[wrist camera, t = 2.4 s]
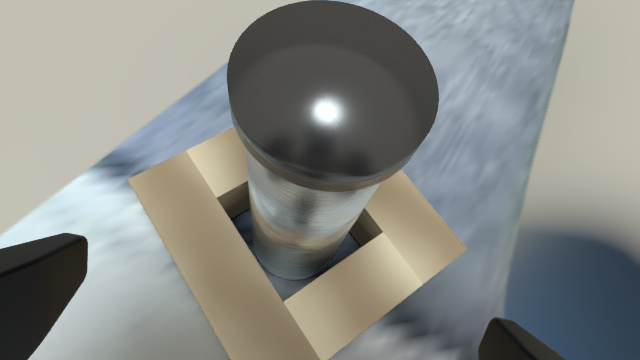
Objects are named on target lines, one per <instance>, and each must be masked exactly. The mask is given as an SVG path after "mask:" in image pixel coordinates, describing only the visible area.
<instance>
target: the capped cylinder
mask: <svg viewBox="0 0 640 360" xmlns="http://www.w3.org/2000/svg"><path fill="white" fill-rule="evenodd" d="M227 84H228V93H229V102H230V110H231V116H232V120H233V124H234V127H235V129H236V132H237V134H238V136H239V138H240V140H241V141H242V143H243V145H244V146H245V148H246V158H247V171H248V185H249V198H250V212H251V225H252V239H253V247H254V251H255V254H256V256H257V258H258V260H259V261H260V263H261V264H262V265H263V266H264V267H265V268H266V269H267V270H268V271H269V272H270V273H272V274H274V275H275V276H278V277H280V278H284V279H288V280H301V279H306V278H309V277H312V276H314V275H316V274H317V273H319V272H320V271H322V270H323V269H324V268H325V267H326V266H327V264H328V263H329V262H330V260H331V259H332V257H333V256H334V254H335V252H336V251H337V249H338V248H339V246H340V245H341V243H342V242H343V240H344V239H345V237H346V235H347V234H348V232H349V231H350V229H351V228H352V226H353V225H354V223H355V222H356V220H357V218H358V217H359V215H360V214H361V212H362V211H363V209H364V208H365V206H366V204H367V203H368V201H369V200H370V198H371V197H372V195H373V194H374V192H375V191H376V189H377V187H378V186H379V184H380V183H381V182H383V181H384V180H386V179H388V178H390V177H391V176H393V175H394V174H395V173H397V172H398V171H399V170H400V169H401V168H402V167H403V166H404V165H405V164H406V163H407V162H408V161H409V160H410V158H411V157H412V155H413V154H414V153H415V151H416V150H417V148H418V147H419V146H420V144H421V143H422V141H423V140H424V139H425V137H426V136H427V134H428V133H429V131H430V129H431V127H432V125H433V123H434V121H435V118H436V114H437V111H438V103H439V92H438V84H437V79H436V76H435V73H434V70H433V67H432V65H431V63H430V61H429V59H428V57H427V56H426V54H425V53H424V51H423V50H422V48H421V47H420V46H419V45H418V44H417V42H416V41H415V40H414V39H413V38H412V37H411V36H410V35H409V34H408V33H407V32H406V31H404V30H403V29H402V28H401V27H399V26H398V25H397V24H395V23H394V22H392V21H390V20H389V19H387V18H386V17H384V16H382V15H380V14H378V13H376V12H374V11H371V10H368V9H366V8H363V7H360V6H356V5H353V4H349V3H344V2H338V1H327V0H312V1H303V2H297V3H293V4H288V5H285V6H282V7H279V8H277V9H274V10H272V11H270V12H268V13H266V14H265V15H263V16H261V17H260V18H258V19H257V20H256V21H254V22H253V23H252V24H251V25H250V26H249V27H248V28H247V29H246V30H245V31H244V32H243V33H242V34H241V36H240V37H239V39H238V40H237V42H236V43H235V45H234V48H233V50H232V52H231V55H230V58H229V62H228V69H227Z"/></svg>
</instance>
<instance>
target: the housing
mask: <svg viewBox="0 0 640 360" xmlns="http://www.w3.org/2000/svg"><path fill="white" fill-rule="evenodd" d="M127 180H128V182H129V184H130V185H131V187H132V189H133V191H134V192H135V194H136V196H137V198H138V199H139V201H140V203H141V205H142V206H143V208H144V210H145V211H146V213H147V215H148V217H149V218H150V220H151V222H152V224H153V225H154V227H155V229H156V231H157V232H158V234H159V236H160V238H161V239H162V241H163V243H164V245H165V246H166V248H167V250H168V252H169V253H170V255H171V257H172V259H173V260H174V262H175V264H176V266H177V267H178V269H179V271H180V273H181V274H182V276H183V278H184V280H185V281H186V283H187V285H188V287H189V288H190V290H191V292H192V294H193V295H194V297H195V299H196V301H197V302H198V304H199V306H200V308H201V309H202V311H203V313H204V315H205V316H206V318H207V320H208V322H209V323H210V325H211V327H212V328H213V330H214V332H215V334H216V335H217V337H218V339H219V341H220V342H221V344H222V346H223V348H224V349H225V351H226V353H227V355H228V356H229V358H230V360H328V359H329V358H331V357H332V356H333V355H335V354H336V353H337V352H338V351H340V350H341V349H342V348H343V347H345V346H346V345H347V344H348V343H350V342H351V341H352V340H353V339H355V338H356V337H357V336H359V335H360V334H361V333H362V332H364V331H365V330H366V329H367V328H369V327H370V326H371V325H372V324H374V323H375V322H376V321H377V320H379V319H380V318H381V317H383V316H384V315H385V314H386V313H388V312H389V311H390V310H391V309H393V308H394V307H395V306H396V305H398V304H399V303H400V302H401V301H403V300H404V299H405V298H406V297H408V296H409V295H410V294H412V293H413V292H414V291H415V290H417V289H418V288H419V287H420V286H422V285H423V284H424V283H425V282H427V281H428V280H429V279H430V278H432V277H433V276H434V275H436V274H437V273H438V272H439V271H441V270H442V269H443V268H444V267H446V266H447V265H448V264H449V263H451V262H452V261H453V260H454V259H456V258H457V257H458V256H459V255H461V254H462V253H463V252H465V251H466V250H467V248H466V247H465V246H464V245H463V244H462V242H461V241H460V240H459V239H458V237H457V236H456V235H455V234H454V233H453V231H452V230H451V229H450V228H449V227H448V225H447V224H446V223H445V222H444V221H443V219H442V218H441V217H440V216H439V215H438V213H437V212H436V211H435V210H434V208H433V207H432V206H431V205H430V204H429V202H428V201H427V200H426V199H425V198H424V196H423V195H422V194H421V193H420V192H419V190H418V189H417V188H416V187H415V186H414V184H413V183H412V182H411V181H410V179H409V178H408V177H407V176H406V175H405V173H404V172H403V171H402V170H401V169H400V170H399V171H398V172H397V173H395V174H394V175H393V176H391V177H390V178H388V179H386V180H384V181H383V182H381V183H380V184H379V186H378V187H377V189H376V191H375V192H374V194H373V195H372V197H371V198H370V200H369V201H368V203H367V204H366V206H365V208H364V209H363V211H362V212H361V214H360V215H359V217H358V218H357V220H356V222H355V223H354V225H353V226H352V228H351V229H350V232H351V233H352V235H353V236H354V237H355V239H356V240H357V241H358V243H359V244H360V246H361V248H360V249H358V250H357V251H355V252H354V253H353V254H351V255H350V256H348V257H347V258H345V259H344V260H343V261H341V262H340V263H338V264H337V265H335V266H334V267H332V268H331V269H330V270H328V271H327V272H325V273H324V274H322V275H321V276H320V277H318V278H317V279H315V280H314V281H312V282H311V283H309V284H308V285H307V286H305V287H304V288H302V289H301V290H299V291H298V292H297V293H295V294H294V295H292V296H291V297H289V298H288V299H287V300H285V301H284V302H283V301H282V299H281V298H280V296H279V294H278V293H277V291H276V290H275V288H274V287H273V285H272V284H271V282H270V280H269V279H268V277H267V276H266V274H265V273H264V271H263V270H262V268H261V266H260V265H259V263H258V262H257V260H256V259H255V257H254V256H253V254H252V252H251V251H250V249H249V248H248V246H247V245H246V243H245V242H244V240H243V238H242V237H241V235H240V234H239V232H238V231H237V229H236V228H235V226H234V224H233V223H232V221H231V220H230V219H232V218H233V217H235V216H237V215H238V214H240V213H242V212H244V211H245V210H247V209H249V208H250V198H249V185H248V171H247V158H246V148H245V146H244V145H243V143H242V141H241V140H240V138H239V136H238V134H237V132H236V129H235V127H233V128H231V129H229V130H227V131H225V132H223V133H221V134H219V135H217V136H215V137H213V138H210V139H208V140H206V141H204V142H202V143H200V144H198V145H196V146H194V147H192V148H190V149H188V150H186V151H184V152H182V153H180V154H178V155H176V156H174V157H172V158H170V159H168V160H166V161H164V162H162V163H160V164H158V165H156V166H154V167H152V168H150V169H148V170H146V171H143V172H141V173H139V174H137V175H135V176H133V177H131V178H129V179H127Z"/></svg>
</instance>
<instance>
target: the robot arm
mask: <svg viewBox="0 0 640 360" xmlns="http://www.w3.org/2000/svg"><path fill="white" fill-rule="evenodd" d="M87 260H88V242H87V239H86V238H85V237H84V236H81V235H76V234H71V233H62V234H58V235H54V236H50V237H46V238H42V239H38V240H34V241H30V242H26V243H22V244H18V245H14V246H10V247H6V248H2V249H0V360H28V358H29V357H30V356H31V355H32V354H33V352H34V351H35V350H36V349H37V347H38V346H39V345H40V344H41V342H42V341H43V340H44V338H45V337H46V336H47V334H48V333H49V331H50V330H51V328H52V327H53V325H54V324H55V322H56V321H57V320H58V318H59V317H60V315H61V314H62V312H63V311H64V309H65V308H66V306H67V305H68V303H69V302H70V300H71V299H72V297H73V296H74V294H75V293H76V291H77V290H78V288H79V287H80V285H81V284H82V283H83V281H84V279H85V277H86V274H87ZM478 356H479V360H566V359H565V358H563V357H562V356H561V355H559V354H558V353H557V352H555V351H554V350H552V349H551V348H550V347H548V346H547V345H545V344H544V343H543V342H541V341H540V340H539V339H537V338H536V337H534V336H533V335H532V334H530V333H529V332H527V331H526V330H525V329H523V328H522V327H521V326H519V325H518V324H517V323H515V322H514V321H511V320H508V319H503V318H497V317H495V318H493V319H491V321H490V322H489V324H488V327H487V329H486V331H485V334H484V336H483V338H482V340H481V343H480V345H479V350H478Z"/></svg>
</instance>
